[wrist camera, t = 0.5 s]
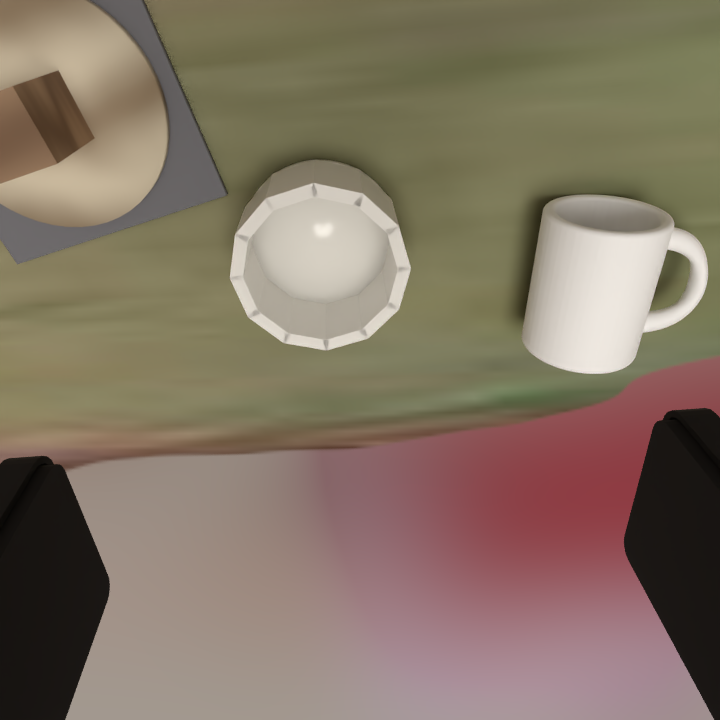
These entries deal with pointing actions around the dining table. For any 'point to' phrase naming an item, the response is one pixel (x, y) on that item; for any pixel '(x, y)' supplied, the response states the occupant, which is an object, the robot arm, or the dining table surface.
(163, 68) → the mat
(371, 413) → the dining table surface
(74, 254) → the dining table surface
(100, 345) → the dining table surface
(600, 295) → the mug
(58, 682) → the robot arm
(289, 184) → the bowl
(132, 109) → the lid
